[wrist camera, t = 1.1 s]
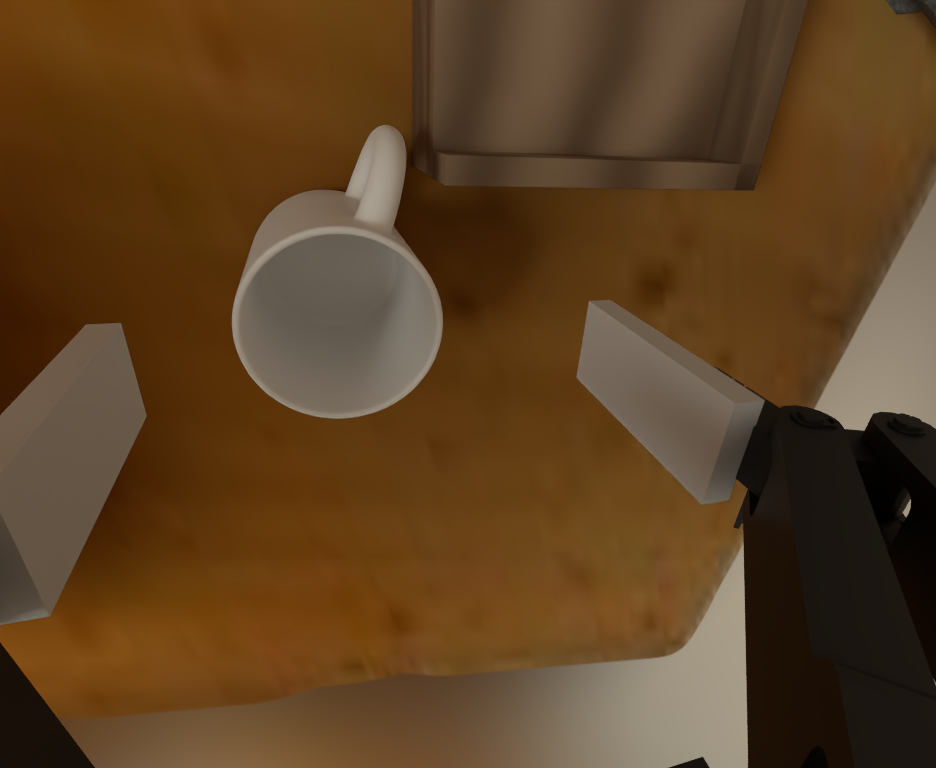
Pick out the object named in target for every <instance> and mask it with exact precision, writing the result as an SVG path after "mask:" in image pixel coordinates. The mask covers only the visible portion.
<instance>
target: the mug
mask: <svg viewBox="0 0 936 768" xmlns="http://www.w3.org/2000/svg"><path fill="white" fill-rule="evenodd" d="M405 171H406V147H405V142H404V139H403V136H402V135H401V133H400V132H399V131H398V130H397V129H395V128H394V127H393V126H390V125H382V126H378V127H377V128H376V129H374V130H373V131H372V132H371V134H370V135H369V137H368V139H367V141H366V143H365V145H364V147H363V149H362V151H361V153H360V156H359V158H358V161H357V163H356V166H355V169H354V171H353V174H352V177H351V180H350V182H349V185H348V188H347V191H346V192H342V191H337V190H312V191H307V192H303V193H300V194H297V195H294V196H292V197H290V198H288V199H286V200H285V201H283V202H282V203H280V204H279V205H278V206H276V207H275V208H274V209H273V210H272V211H271V212H270V213H269V214H268V216H267V217H266V218H265V220H264V221H263V222H262V224H261V225H260V227H259V229H258V231H257V233H256V235H255V238H254V241H253V243H252V246H251V249H250V253H249V256H248V259H247V262H246V265H245V268H244V271H243V274H242V277H241V280H240V283H239V287H238V290H237V293H236V296H235V300H234V305H233V310H232V332H233V339H234V343H235V347H236V350H237V353H238V355H239V357H240V360H241V362H242V364H243V365H244V367H245V369H246V370H247V372H248V374H249V375H250V376H251V377H252V379H253V380H254V381H255V382H256V384H257V385H258V386H259V387H261V388H262V389H263V390H264V391H265V392H266V393H267V394H268V395H270V396H271V397H272V398H274V399H275V400H276V401H278V402H280V403H282V404H283V405H285V406H287V407H289V408H291V409H294V410H296V411H298V412H301V413H305V414H308V415H311V416H317V417H323V418H336V419H338V418H352V417H359V416H364V415H367V414H371V413H374V412H377V411H380V410H382V409H385V408H387V407H389V406H390V405H392V404H394V403H396V402H397V401H399V400H400V399H402V398H403V397H405V396H406V395H407V394H408V393H410V392H411V391H412V390H413V389H414V388H415V387H416V386H417V385H418V384H419V383H420V382H421V380H422V379H423V378H424V377H425V375H426V374H427V372H428V371H429V369H430V368H431V366H432V364H433V362H434V360H435V358H436V355H437V352H438V350H439V346H440V342H441V338H442V330H443V312H442V307H441V301H440V298H439V295H438V292H437V289H436V287H435V285H434V283H433V280H432V278H431V277H430V275H429V274H428V272H427V271H426V269H425V268H424V266H423V265H422V264H421V262H420V261H419V260H418V258H417V257H416V255H415V254H414V253H413V251H412V250H411V249H410V247H409V246H408V245H407V243H406V242H405V240H404V239H403V238H402V236H401V235H400V234H399V232H398V231H397V230H396V228H395V227H394V222H395V218H396V215H397V211H398V207H399V203H400V199H401V194H402V190H403V184H404V178H405Z"/></svg>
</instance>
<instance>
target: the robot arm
mask: <svg viewBox="0 0 936 768" xmlns="http://www.w3.org/2000/svg"><path fill="white" fill-rule="evenodd" d="M576 378H577V379H578V380H579V381H580V382H581V383H582V384H583V385H584V386H585V387H586V388H587V389H588V390H589V391H590V392H591V393H592V394H593V395H594V396H595V397H596V398H597V399H598V400H599V401H600V402H601V403H602V404H603V405H604V406H605V407H606V408H607V409H608V410H609V411H610V413H611V414H612V415H613V416H614V417H615V418H616V419H617V420H618V421H619V422H620V423H621V424H622V425H623V426H624V427H625V428H626V429H627V430H628V431H629V432H630V433H631V434H632V435H633V436H634V437H635V438H636V439H637V440H638V441H639V442H640V443H641V444H642V445H643V446H644V447H645V448H646V449H647V450H648V451H649V452H650V453H651V454H652V455H653V456H654V457H655V458H656V459H657V460H658V461H659V462H660V463H661V464H662V465H663V466H664V467H665V468H666V469H667V470H668V471H669V472H670V473H671V474H672V475H673V476H674V477H675V478H676V479H677V480H678V481H679V482H680V483H681V484H682V485H683V487H684V488H685V489H686V490H687V491H688V492H689V493H690V494H691V495H692V496H693V497H694V498H695V499H696V500H697V501H698V502H699V503H700V504H701V505H705V504H710V503H716V502H722V501H728V500H729V498H730V495H731V493H732V490H733V487H734V484H735V482H736V479H737V480H739V481H740V482H741V483H742V484H743V485H744V486H745V487H747V488H748V490H747V493H746V496H745V498H744V501H743V504H742V506H741V509H740V512H739V514H738V517H737V519H736V522H735V525H734V528H737V529H739V527H740V525H741V524H742V523H743V533H744V578H745V579H744V580H745V629H746V675H747V725H748V768H936V685H935V683H934V680H935V682H936V429H935V428H933V427H932V426H931V425H929V424H926V423H924V422H922V421H921V420H920V419H918V418H916V417H913V416H909V415H906V414H896V413H890V412H879V413H875V414H873V415H872V417H871V419H870V421H869V423H868V425H867V427H866V429H865V431H860V430H848V429H844V428H843V426H842V425H841V424H840V422H839V421H837V420H836V419H835V418H833V417H831V416H829V415H827V414H825V413H823V412H820V411H818V410H814V409H811V408H808V407H802V406H795V405H792V406H783V407H781V408H779V407H777V406H776V405H774V404H772V403H771V402H769V401H768V400H766V399H765V398H763V397H762V396H760V395H759V394H757V393H755V392H754V391H752V390H751V389H749V388H748V387H744V385H743V384H742V383H740V382H738V381H737V380H733V379H732V377H731V376H729V375H728V374H726V373H725V372H723V371H721V370H720V369H718V368H716V367H713V366H711V365H710V364H708V363H707V362H705V361H704V360H702V359H701V358H699V357H697V356H696V355H694V354H693V353H691V352H690V351H688V350H687V349H685V348H684V347H682V346H681V345H679V344H677V343H676V342H674V341H673V340H671V339H670V338H668V337H667V336H665V335H664V334H662V333H661V332H659V331H657V330H656V329H654V328H653V327H651V326H650V325H648V324H647V323H645V322H644V321H642V320H641V319H639V318H637V317H636V316H634V315H633V314H631V313H630V312H628V311H627V310H625V309H624V308H622V307H621V306H619V305H618V304H616V303H614V302H613V301H611V300H598V301H589V304H588V310H587V316H586V322H585V328H584V334H583V341H582V347H581V353H580V359H579V365H578V371H577V377H576ZM146 417H147V415H146V412H145V408H144V404H143V401H142V397H141V393H140V390H139V386H138V383H137V379H136V375H135V372H134V368H133V364H132V361H131V357H130V354H129V350H128V346H127V343H126V339H125V336H124V332H123V328H122V325H121V323H108V324H87V325H85V326H84V327H83V328H82V329H81V330H80V331H79V333H78V334H77V335H76V336H75V337H74V338H73V339H72V340H71V341H70V342H69V343H68V344H67V345H66V346H65V347H64V348H63V349H62V350H61V352H60V353H59V354H58V355H57V356H56V357H55V358H54V359H53V360H52V361H51V362H50V363H49V364H48V365H47V366H46V367H45V368H44V369H43V371H42V372H41V373H40V374H39V375H38V376H37V377H36V378H35V379H34V380H33V381H32V382H31V383H30V384H29V385H28V386H27V387H26V388H25V389H24V391H23V392H22V393H21V394H20V395H19V396H18V397H17V398H16V399H15V400H14V401H13V402H12V403H11V404H10V405H9V406H8V407H7V408H6V410H5V411H4V412H3V413H2V414H1V415H0V625H3V624H8V623H14V622H20V621H26V620H32V619H38V618H44V617H49V616H50V615H51V613H52V611H53V609H54V607H55V605H56V603H57V601H58V599H59V597H60V595H61V592H62V590H63V588H64V586H65V584H66V582H67V580H68V578H69V576H70V574H71V572H72V570H73V568H74V566H75V564H76V561H77V559H78V557H79V555H80V553H81V551H82V549H83V547H84V545H85V543H86V541H87V539H88V537H89V535H90V532H91V530H92V528H93V526H94V524H95V522H96V520H97V518H98V516H99V514H100V512H101V510H102V508H103V506H104V504H105V501H106V499H107V497H108V495H109V493H110V491H111V489H112V487H113V485H114V483H115V481H116V479H117V477H118V475H119V473H120V470H121V468H122V466H123V464H124V462H125V460H126V458H127V456H128V454H129V452H130V450H131V448H132V446H133V444H134V442H135V439H136V437H137V435H138V433H139V431H140V429H141V427H142V425H143V423H144V421H145V419H146ZM910 499H911V509H910V511H909V514H908V516H907V518H906V517H905V516H904V514H903V511H904V509H905V508H906V506H907V504H908V502H909V500H910ZM933 679H934V680H933ZM0 768H95V767H94V766H93V765H92V763H91V762H90V761H89V759H88V758H87V757H86V755H85V754H84V753H83V751H82V750H81V749H80V747H79V746H78V745H77V743H76V742H75V741H74V740H73V738H72V737H71V736H70V734H69V733H68V731H67V730H66V729H65V728H64V726H63V725H62V724H61V722H60V721H59V720H58V718H57V717H56V716H55V714H54V713H53V712H52V710H51V709H50V708H49V706H48V705H47V704H46V702H45V701H44V700H43V698H42V697H41V696H40V694H39V693H38V692H37V690H36V689H35V688H34V687H33V685H32V684H31V683H30V681H29V680H28V679H27V677H26V676H25V675H24V673H23V672H22V671H21V669H20V668H19V667H18V665H17V664H16V663H15V661H14V660H13V659H12V657H11V656H10V655H9V653H8V652H7V651H6V650H5V648H4V647H3V646H2V644H1V643H0ZM670 768H709V766H708V765H707V763H706V761H705V760H704V758H703V757H701V758H698V759H694V760H692V761H688V762H685V763H682V764H679V765H676V766H673V767H670Z"/></svg>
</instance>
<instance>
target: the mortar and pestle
mask: <svg viewBox="0 0 936 768" xmlns="http://www.w3.org/2000/svg"><path fill="white" fill-rule="evenodd" d="M886 1H887V2H888V4H889V5H890V6H891V7H892V9H893V10H894V11H895V13H896V14H901V13H908V12H915V11H923V12H924V14H925V15H926V16H927V18H928V19H929V20H930V22H931V23H932V25H933V26H935V27H936V0H886Z"/></svg>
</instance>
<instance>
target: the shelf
mask: <svg viewBox="0 0 936 768" xmlns="http://www.w3.org/2000/svg"><path fill="white" fill-rule="evenodd" d="M807 4H808V0H413V167H415V168H416V169H418V170H420V171H421V172H423V173H425V174H426V175H428V176H430V177H431V178H433V179H435V180H436V181H438V182H440V183H441V184H443V185H445V186H500V187H566V188H632V189H699V190H754V188H755V184H756V181H757V177H758V174H759V170H760V167H761V164H762V160H763V157H764V153H765V150H766V146H767V143H768V139H769V136H770V132H771V129H772V125H773V122H774V118H775V115H776V111H777V108H778V104H779V101H780V98H781V94H782V91H783V87H784V84H785V80H786V77H787V73H788V70H789V66H790V63H791V59H792V56H793V52H794V49H795V45H796V42H797V38H798V35H799V31H800V28H801V25H802V21H803V18H804V14H805V11H806V7H807Z"/></svg>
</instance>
